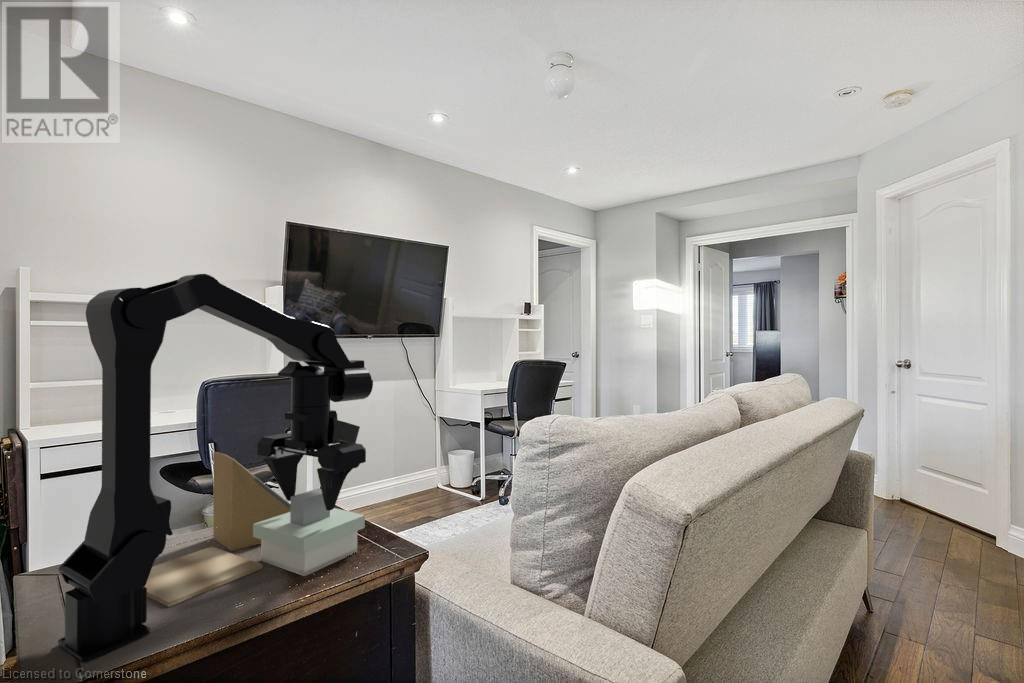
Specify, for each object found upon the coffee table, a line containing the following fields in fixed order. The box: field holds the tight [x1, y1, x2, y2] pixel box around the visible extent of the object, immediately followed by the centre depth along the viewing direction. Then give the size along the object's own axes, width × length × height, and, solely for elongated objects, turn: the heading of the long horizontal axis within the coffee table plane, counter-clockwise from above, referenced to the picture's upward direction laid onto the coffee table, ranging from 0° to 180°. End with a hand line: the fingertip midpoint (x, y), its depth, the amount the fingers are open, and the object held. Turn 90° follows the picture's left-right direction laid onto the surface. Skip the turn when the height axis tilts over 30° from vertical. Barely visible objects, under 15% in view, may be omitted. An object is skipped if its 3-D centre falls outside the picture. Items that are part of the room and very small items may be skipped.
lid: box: [253, 488, 366, 553], centre depth 82 cm, size 12×12×6 cm
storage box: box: [260, 531, 358, 577], centre depth 82 cm, size 10×10×5 cm
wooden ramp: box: [212, 451, 291, 552], centre depth 92 cm, size 9×15×15 cm, turn 138°
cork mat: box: [144, 546, 263, 608], centre depth 75 cm, size 13×13×1 cm
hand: (309, 504), depth 82 cm, fingers open, 9 cm apart
